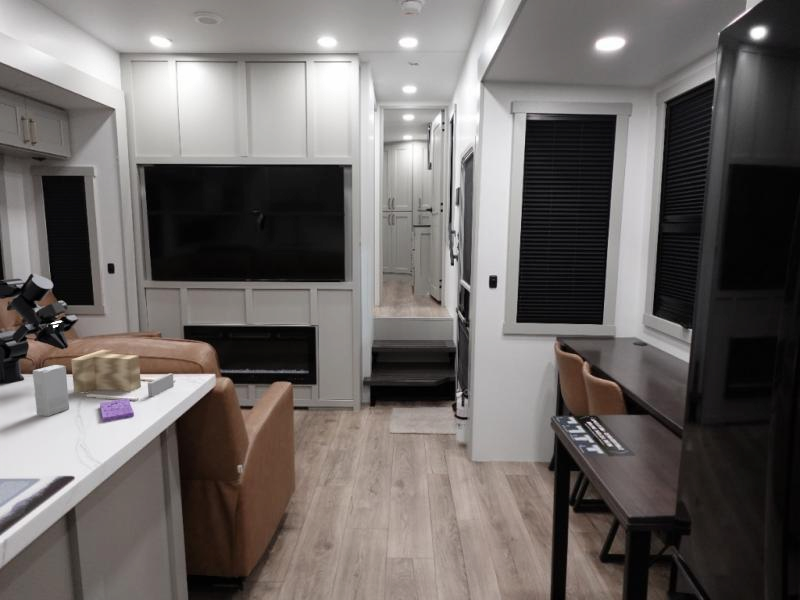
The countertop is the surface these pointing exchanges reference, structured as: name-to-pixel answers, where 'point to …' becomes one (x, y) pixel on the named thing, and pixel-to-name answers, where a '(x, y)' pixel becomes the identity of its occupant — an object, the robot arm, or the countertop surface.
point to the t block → (106, 372)
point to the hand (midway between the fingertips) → (65, 347)
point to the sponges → (116, 410)
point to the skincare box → (51, 390)
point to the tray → (153, 387)
